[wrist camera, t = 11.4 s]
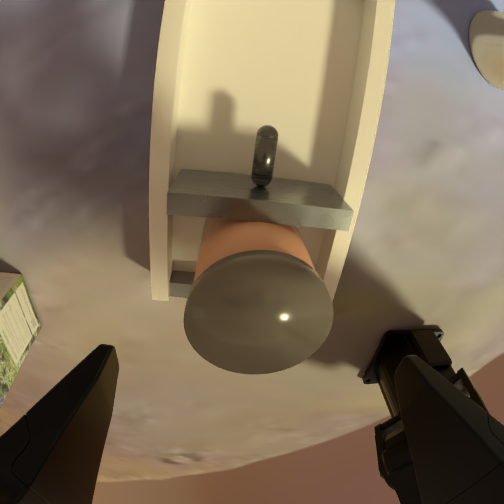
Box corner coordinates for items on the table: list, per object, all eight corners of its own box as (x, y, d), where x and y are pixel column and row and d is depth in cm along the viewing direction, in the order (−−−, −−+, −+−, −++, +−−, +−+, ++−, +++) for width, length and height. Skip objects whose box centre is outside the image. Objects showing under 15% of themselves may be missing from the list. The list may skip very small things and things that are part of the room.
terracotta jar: (289, 279, 21) (313, 374, 14) (198, 272, 20) (184, 370, 13) (306, 193, 18) (351, 267, 11) (203, 183, 18) (184, 254, 11)
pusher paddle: (326, 201, 18) (348, 231, 15) (180, 186, 17) (166, 214, 14) (340, 132, 16) (368, 146, 13) (185, 113, 15) (170, 121, 12)
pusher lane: (320, 288, 22) (343, 350, 17) (159, 276, 21) (139, 339, 16) (377, -9, 13) (430, -35, 8) (183, -40, 12) (163, -87, 6)
